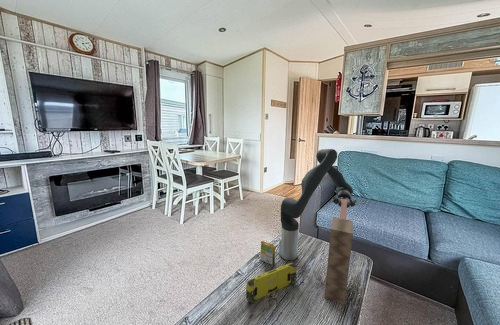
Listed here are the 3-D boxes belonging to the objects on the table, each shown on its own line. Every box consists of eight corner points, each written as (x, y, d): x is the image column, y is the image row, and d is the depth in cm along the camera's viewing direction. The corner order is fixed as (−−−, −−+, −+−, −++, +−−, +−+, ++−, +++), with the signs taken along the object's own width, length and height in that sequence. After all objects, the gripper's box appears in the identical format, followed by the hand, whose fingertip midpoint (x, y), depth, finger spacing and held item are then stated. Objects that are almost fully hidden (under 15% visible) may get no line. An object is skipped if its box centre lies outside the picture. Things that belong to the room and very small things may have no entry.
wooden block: (324, 297, 90) (330, 228, 85) (327, 279, 101) (333, 217, 95) (344, 304, 87) (352, 233, 81) (345, 285, 98) (352, 220, 92)
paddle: (331, 240, 102) (332, 236, 101) (336, 201, 121) (336, 197, 119) (350, 244, 99) (350, 240, 97) (351, 204, 118) (352, 200, 116)
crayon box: (274, 261, 113) (275, 242, 111) (272, 265, 111) (273, 244, 109) (262, 257, 117) (263, 238, 115) (260, 260, 115) (260, 240, 112)
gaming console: (291, 278, 101) (292, 260, 100) (297, 284, 98) (298, 265, 96) (244, 299, 89) (244, 278, 87) (249, 307, 85) (249, 285, 83)
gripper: (332, 189, 132) (330, 196, 116) (357, 193, 126) (359, 201, 111) (331, 201, 133) (329, 209, 117) (356, 205, 127) (357, 214, 112)
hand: (344, 205), depth 114 cm, fingers closed on paddle, 3 cm apart
